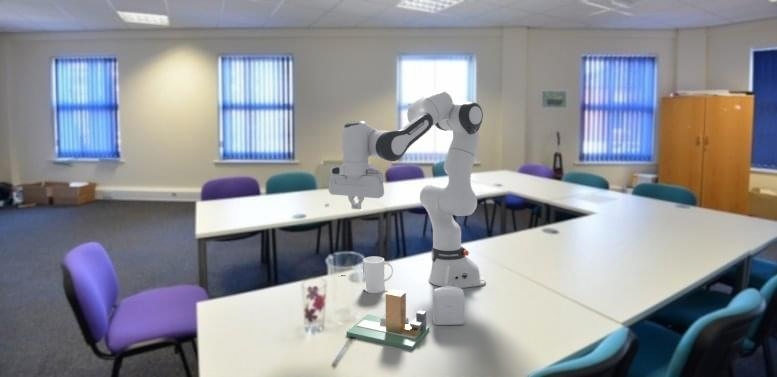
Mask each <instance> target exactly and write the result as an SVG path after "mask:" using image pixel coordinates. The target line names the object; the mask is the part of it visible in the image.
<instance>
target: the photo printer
mask: <svg viewBox="0 0 777 377" xmlns="http://www.w3.org/2000/svg"><path fill="white" fill-rule="evenodd" d="M463 289H464V288H458V287H450V286H447V287H442V286H439V287H436V288H434V289H433V293H432V324H433V325H435V326H455V325H457V326H458V325H464V323H465V293H464V290H463Z"/></svg>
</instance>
